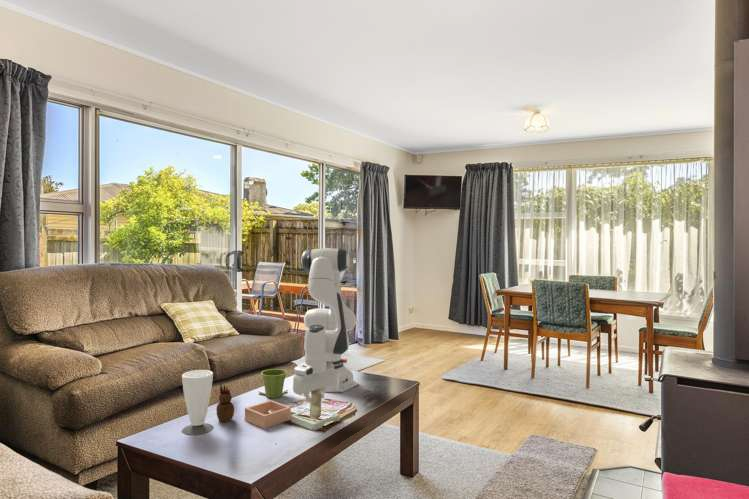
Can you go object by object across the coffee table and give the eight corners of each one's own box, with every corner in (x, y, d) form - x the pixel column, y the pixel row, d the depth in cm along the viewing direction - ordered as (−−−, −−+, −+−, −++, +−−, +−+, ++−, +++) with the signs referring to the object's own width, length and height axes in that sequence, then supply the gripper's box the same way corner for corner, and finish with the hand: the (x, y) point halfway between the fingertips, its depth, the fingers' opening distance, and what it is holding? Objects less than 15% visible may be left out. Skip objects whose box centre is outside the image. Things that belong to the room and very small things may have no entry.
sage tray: (316, 412, 210) (316, 406, 210) (339, 420, 201) (339, 414, 201) (290, 421, 200) (290, 415, 200) (313, 430, 191) (313, 424, 191)
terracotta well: (271, 411, 210) (271, 400, 210) (290, 419, 202) (290, 407, 202) (244, 420, 201) (244, 408, 201) (264, 428, 192) (264, 416, 192)
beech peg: (315, 415, 204) (316, 386, 204) (323, 418, 201) (324, 388, 201) (307, 418, 200) (308, 388, 200) (314, 421, 197) (315, 390, 197)
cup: (175, 432, 188) (174, 375, 187) (196, 421, 199) (196, 368, 198) (199, 437, 184) (199, 379, 183) (219, 426, 194) (219, 371, 194)
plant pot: (292, 395, 232) (292, 371, 231) (271, 402, 223) (272, 377, 222) (275, 390, 239) (276, 367, 239) (255, 396, 230) (255, 372, 230)
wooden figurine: (213, 422, 199) (213, 384, 198) (222, 417, 204) (222, 380, 204) (227, 424, 196) (227, 386, 196) (236, 419, 202) (236, 382, 201)
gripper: (328, 359, 210) (328, 392, 210) (290, 369, 194) (290, 404, 195) (339, 362, 206) (338, 395, 206) (301, 372, 190) (301, 408, 191)
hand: (315, 400), depth 200 cm, fingers open, 5 cm apart
